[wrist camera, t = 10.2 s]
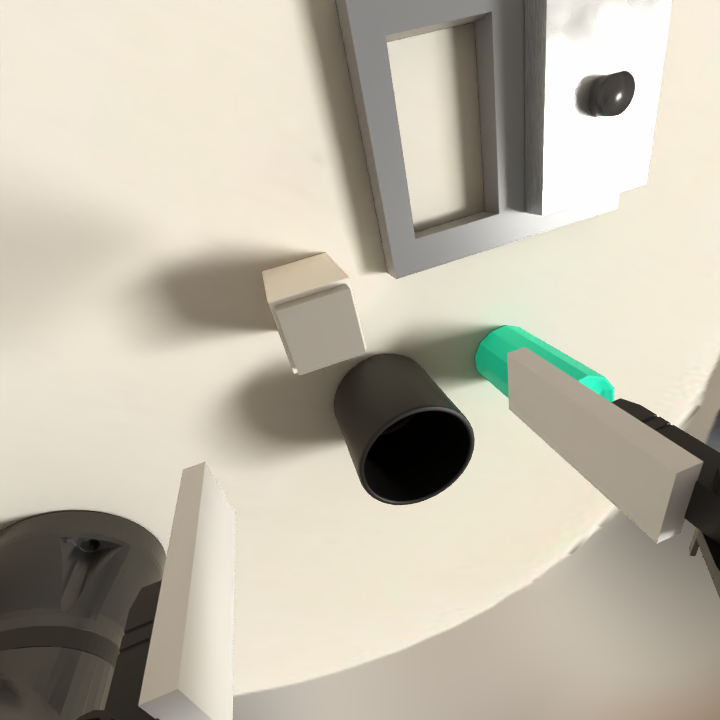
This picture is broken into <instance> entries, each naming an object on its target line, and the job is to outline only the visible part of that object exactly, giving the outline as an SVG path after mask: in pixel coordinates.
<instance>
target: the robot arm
mask: <svg viewBox="0 0 720 720" xmlns="http://www.w3.org/2000/svg"><path fill="white" fill-rule="evenodd" d="M507 357H508V389H509V409H510V410H511V411H512V412H513V413H514V414H515V415H516V416H518V417H519V418H520V419H521V420H522V421H523V422H524V423H525V424H526V425H527V426H528V427H530V428H531V429H532V430H533V431H534V432H535V433H536V434H537V435H538V436H539V437H541V438H542V439H543V440H544V441H545V442H546V443H547V444H548V445H549V446H550V447H552V448H553V449H554V450H555V451H556V452H557V453H558V454H559V455H560V456H561V457H563V458H564V459H565V460H566V461H567V462H568V463H569V464H570V465H571V466H572V467H573V468H575V469H576V470H577V471H578V472H579V473H580V474H581V475H582V476H583V477H584V478H586V479H587V480H588V481H589V482H590V483H591V484H592V485H593V486H594V487H595V488H597V489H598V490H599V491H600V492H601V493H602V494H603V495H604V496H605V497H606V498H608V499H609V500H610V501H611V502H612V503H613V504H614V505H615V506H616V507H617V508H618V509H620V510H621V511H622V512H623V513H624V514H625V515H626V516H627V517H628V518H630V519H631V520H632V521H633V522H634V523H635V524H636V525H637V526H638V527H639V528H641V529H642V530H643V531H644V532H645V533H646V534H647V535H648V536H649V537H650V538H651V539H653V540H654V541H655V542H656V543H659V542H661V541H663V540H665V539H667V538H670V537H672V536H674V535H676V534H679V533H680V532H681V529H682V526H683V523H684V520H685V519H687V520H688V521H689V522H690V523H692V524H693V525H694V526H695V527H696V530H695V533H694V536H693V539H692V542H691V544H690V547H689V550H690V555H691V556H695V555H696V553H697V550H698V547H700V549H701V552H702V554H703V557H704V560H705V562H706V565H707V567H708V570H709V572H710V574H711V577H712V580H713V582H714V585H715V587H716V590H717V592H718V595H719V597H720V453H719V452H717V451H716V450H714V449H712V448H711V447H709V446H707V445H706V444H704V443H702V442H701V441H699V440H698V439H696V438H694V437H692V436H691V435H689V434H688V433H686V432H684V431H683V430H681V429H679V428H678V427H676V426H674V425H670V423H669V422H668V421H666V420H664V419H663V418H661V417H657V415H656V414H654V413H653V412H651V411H649V410H648V409H646V408H644V407H643V406H641V405H639V404H636V403H633V402H630V401H627V400H624V399H621V398H620V399H618V400H615V401H613V402H610V401H608V400H607V399H605V398H604V397H602V396H601V395H599V394H597V393H596V392H594V391H593V390H591V389H590V388H588V387H587V386H585V385H583V384H582V383H580V382H579V381H577V380H576V379H574V378H573V377H571V376H569V375H568V374H566V373H565V372H563V371H562V370H560V369H559V368H557V367H555V366H554V365H552V364H551V363H549V362H548V361H546V360H544V359H543V358H541V357H540V356H538V355H537V354H535V353H534V352H532V351H530V350H529V349H527V348H526V347H523V348H521V349H518V350H515V351H512V352H510V353H507ZM235 531H236V512H235V511H234V509H233V507H232V506H231V504H230V502H229V501H228V499H227V497H226V496H225V494H224V492H223V491H222V489H221V487H220V486H219V484H218V482H217V481H216V479H215V477H214V476H213V474H212V472H211V471H210V469H209V467H208V466H207V464H206V462H203V463H200V464H198V465H195V466H192V467H189V468H187V469H184V470H183V473H182V478H181V483H180V489H179V494H178V499H177V504H176V510H175V515H174V520H173V526H172V531H171V536H170V541H169V547H168V552H167V557H166V555H165V551H164V549H163V547H162V545H161V543H160V542H159V541H158V539H157V538H156V537H155V536H154V535H153V534H152V533H150V532H149V531H148V530H147V529H145V528H144V527H142V526H140V525H138V524H136V523H134V522H132V521H130V520H127V519H124V518H121V517H118V516H114V515H110V514H105V513H98V512H87V511H68V512H57V513H50V514H45V515H40V516H36V517H32V518H29V519H26V520H23V521H20V522H18V523H16V524H13V525H11V526H9V527H7V528H5V529H4V530H2V531H0V720H232V718H233V661H234V596H235Z"/></svg>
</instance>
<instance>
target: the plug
mask: <svg viewBox="0 0 720 720" xmlns="http://www.w3.org/2000/svg"><path fill="white" fill-rule="evenodd" d="M262 275H263V281H264V286H265V291H266V297H267V302H268V305H269V308H270V310H271V313H272V316H273V318H274V321H275V324H276V327H277V329H278V332H279V335H280V337H281V340H282V343H283V345H284V348H285V351H286V354H287V356H288V359H289V362H290V364H291V367H292V370H293V372H294V374H295V373H298V374H299V376H300V375H303V374H306V373H309V372H312V371H315V370H318V369H321V368H324V367H327V366H330V365H333V364H336V363H339V362H342V361H345V360H348V359H351V358H353V357H356V356H359V355H362V354H365V353H366V351H365V350H366V349H367V347H366V343H365V339H364V335H363V331H362V327H361V323H360V319H359V315H358V310H357V306H356V302H355V298H354V294H353V290H352V286H351V282H350V278H349V276H348V275H347V274H346V273H345V272H344V271H343V270H342V269H341V268H340V267H339V266H338V265H337V264H336V263H335V262H334V261H333V260H332V259H331V258H330V257H329V255H328V254H327V253H326V252H325V253H322V254H318V255H315V256H311V257H308V258H305V259H301V260H298V261H295V262H291V263H288V264H285V265H281V266H278V267H275V268H271V269H268V270H265V271H262Z"/></svg>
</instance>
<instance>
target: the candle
mask: <svg viewBox="0 0 720 720" xmlns="http://www.w3.org/2000/svg"><path fill="white" fill-rule="evenodd" d="M523 347H526V348H527V349H529V350H530V351H532V352H534V353H535V354H537V355H538V356H540V357H541V358H543V359H544V360H546V361H548V362H549V363H551V364H552V365H554V366H555V367H557V368H559V369H560V370H562V371H563V372H565V373H566V374H568V375H569V376H571V377H573V378H574V379H576V380H577V381H579V382H580V383H582V384H583V385H585V386H587V387H588V388H590V389H591V390H593V391H594V392H596V393H597V394H599V395H601V396H602V397H604V398H605V399H607V400H608V401H610V402H613V401H614V387H613V386H612V385H611V384H610V382H609V381H608V380H607V379H606V378H605V377H604V376H602V375H600V374H599V373H597V372H595V371H593V370H592V369H590V368H588V367H587V366H585V365H583V364H581V363H580V362H578V361H576V360H575V359H573V358H571V357H569V356H568V355H566V354H564V353H563V352H561V351H559V350H557V349H556V348H554V347H552V346H551V345H549V344H547V343H545V342H544V341H542V340H540V339H538V338H537V337H535V336H533V335H532V334H530V333H528V332H526V331H525V330H523V329H521V328H520V327H515V326H508V325H505V326H503V327H500V328H498V329H496V330H493V331H491V332H490V333H489V334H488V335H487V336H486V337H485V339H484V340H483V341H482V342H481V343H480V345H479V347H478V350H477V353H476V355H475V363H476V369H477V371H478V372H479V373H480V374H481V375H482V376H484V377H485V378H486V379H487V380H488V381H489V382H490V383H492V384H493V385H494V386H495V387H496V388H497V389H498V390H500V391H501V392H502V393H503V394H504V395H505V396H506V397H508V398H509V389H508V357H507V353H510V352H512V351H515V350H518V349H521V348H523Z"/></svg>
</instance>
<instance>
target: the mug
mask: <svg viewBox="0 0 720 720" xmlns="http://www.w3.org/2000/svg"><path fill="white" fill-rule="evenodd" d="M334 411H335V415H336V418H337V421H338V423H339V426H340V429H341V431H342V434H343V437H344V439H345V442H346V445H347V447H348V450H349V453H350V455H351V458H352V461H353V463H354V466H355V468H356V471H357V474H358V476H359V479H360V482H361V484H362V486H363V488H364V489H365V490H366V491H367V493H368V494H370V495H371V496H372V497H373V498H375V499H377V500H378V501H381V502H384V503H387V504H392V505H407V504H413V503H418V502H421V501H424V500H427V499H429V498H431V497H433V496H435V495H437V494H439V493H440V492H442V491H444V490H445V489H446V488H448V487H449V486H450V485H451V484H452V483H454V482H455V481H456V480H457V479H458V477H459V476H460V475H461V474H462V473H463V471H464V470H465V468H466V467H467V465H468V463H469V461H470V459H471V456H472V453H473V449H474V433H473V429H472V427H471V425H470V423H469V421H468V420H467V418H466V417H465V416H464V415H463V414H462V413H461V411H460V410H459V409H458V408H457V407H456V406H455V405H454V404H453V402H452V401H451V400H450V399H449V398H448V397H447V396H446V395H445V393H444V392H443V391H442V390H441V389H440V388H439V387H438V386H437V384H436V383H435V382H434V381H433V380H432V379H431V378H430V377H429V375H428V374H427V373H426V372H425V371H424V370H423V369H422V368H421V366H420V365H418V364H417V363H416V362H415V361H413V360H411V359H410V358H407V357H404V356H400V355H394V354H385V355H378V356H375V357H372V358H369V359H367V360H364V361H363V362H361V363H359V364H358V365H356V366H355V367H354V368H353V369H351V370H350V371H349V372H348V374H347V375H346V376H345V377H344V379H343V380H342V381H341V383H340V385H339V387H338V390H337V393H336V396H335V401H334Z"/></svg>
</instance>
